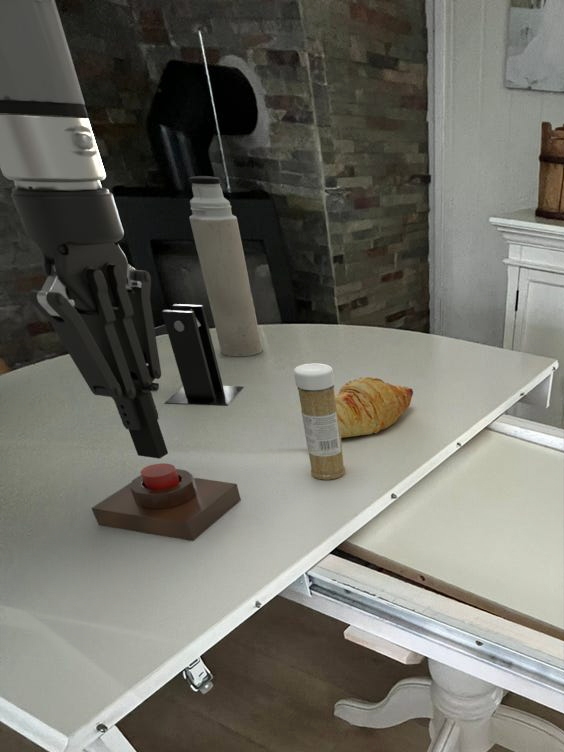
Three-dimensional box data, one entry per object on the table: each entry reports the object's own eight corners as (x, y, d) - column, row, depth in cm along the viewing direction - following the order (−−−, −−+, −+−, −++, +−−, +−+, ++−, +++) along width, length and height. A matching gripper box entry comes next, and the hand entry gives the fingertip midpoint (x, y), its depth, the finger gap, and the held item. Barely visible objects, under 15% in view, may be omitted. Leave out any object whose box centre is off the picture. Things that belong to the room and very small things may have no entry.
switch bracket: (166, 410, 94) (136, 314, 85) (187, 391, 100) (161, 300, 91) (229, 412, 94) (206, 316, 85) (246, 393, 101) (226, 303, 92)
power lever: (123, 354, 90) (113, 338, 89) (138, 346, 94) (128, 330, 92) (193, 331, 88) (183, 314, 86) (204, 323, 92) (195, 306, 90)
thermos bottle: (240, 343, 123) (203, 174, 105) (270, 349, 121) (238, 177, 103) (212, 352, 118) (168, 175, 99) (243, 358, 115) (204, 178, 97)
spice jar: (344, 465, 81) (331, 361, 72) (346, 480, 77) (333, 372, 69) (310, 467, 80) (293, 362, 71) (310, 482, 76) (292, 374, 68)
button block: (98, 525, 67) (84, 493, 64) (154, 487, 74) (143, 456, 71) (193, 541, 65) (182, 508, 62) (241, 500, 72) (233, 469, 70)
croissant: (330, 471, 87) (341, 431, 80) (284, 425, 87) (291, 381, 81) (423, 427, 100) (439, 389, 93) (382, 387, 100) (395, 346, 94)
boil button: (138, 489, 66) (133, 474, 65) (159, 475, 69) (154, 461, 68) (167, 493, 65) (162, 478, 64) (186, 479, 68) (182, 465, 67)
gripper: (36, 191, 44) (144, 484, 59) (149, 183, 54) (217, 436, 69) (-47, 186, 45) (80, 474, 60) (78, 178, 55) (160, 429, 70)
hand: (153, 454), depth 65 cm, fingers closed
